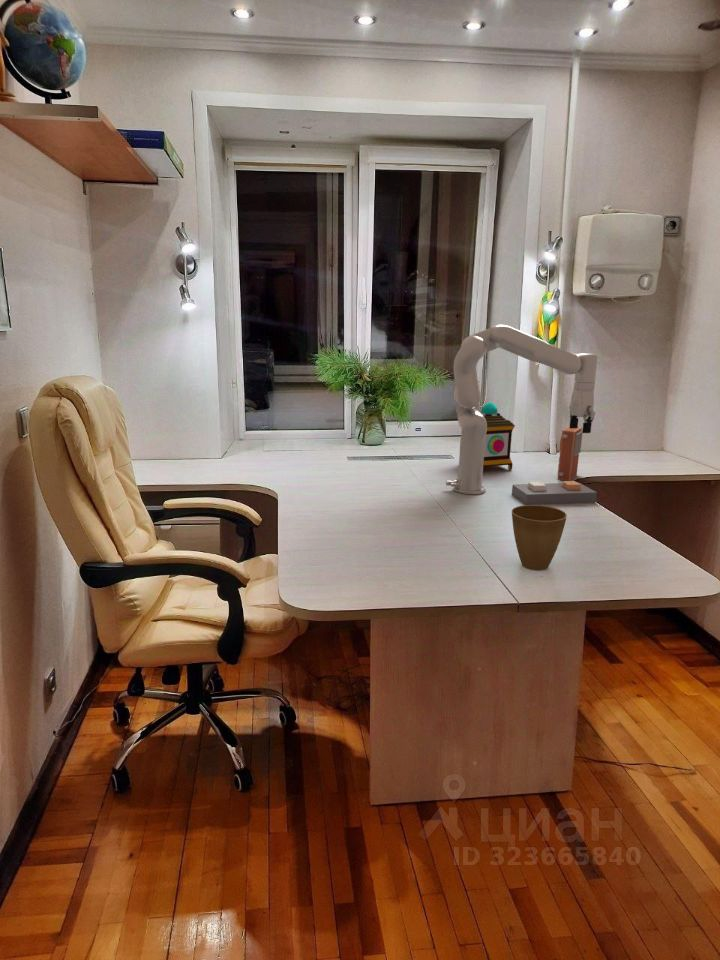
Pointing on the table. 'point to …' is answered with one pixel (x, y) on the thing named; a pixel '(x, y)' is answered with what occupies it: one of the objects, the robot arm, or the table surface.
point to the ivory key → (537, 486)
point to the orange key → (571, 485)
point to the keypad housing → (553, 494)
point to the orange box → (569, 453)
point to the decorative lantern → (497, 438)
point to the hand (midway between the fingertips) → (579, 430)
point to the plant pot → (537, 534)
